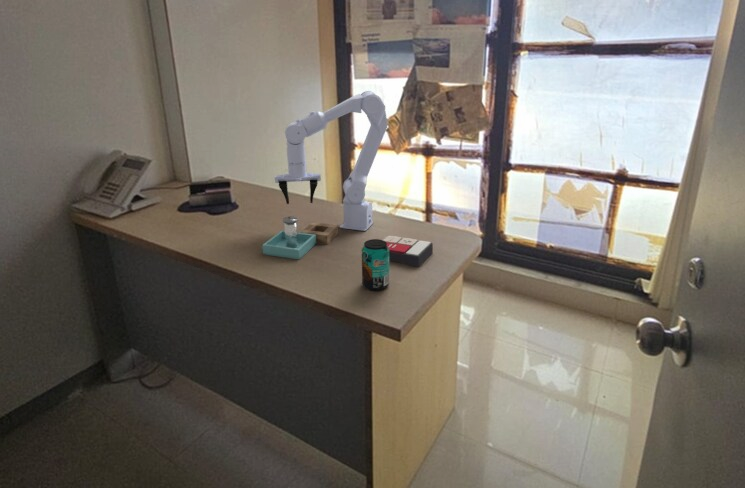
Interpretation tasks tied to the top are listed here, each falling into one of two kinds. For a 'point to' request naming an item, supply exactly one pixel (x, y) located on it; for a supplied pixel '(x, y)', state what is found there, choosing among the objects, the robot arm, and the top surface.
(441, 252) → the top surface
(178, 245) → the top surface
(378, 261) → the beverage can
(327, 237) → the hole block
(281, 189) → the robot arm
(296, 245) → the steel pin
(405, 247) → the red white black box
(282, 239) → the tray
